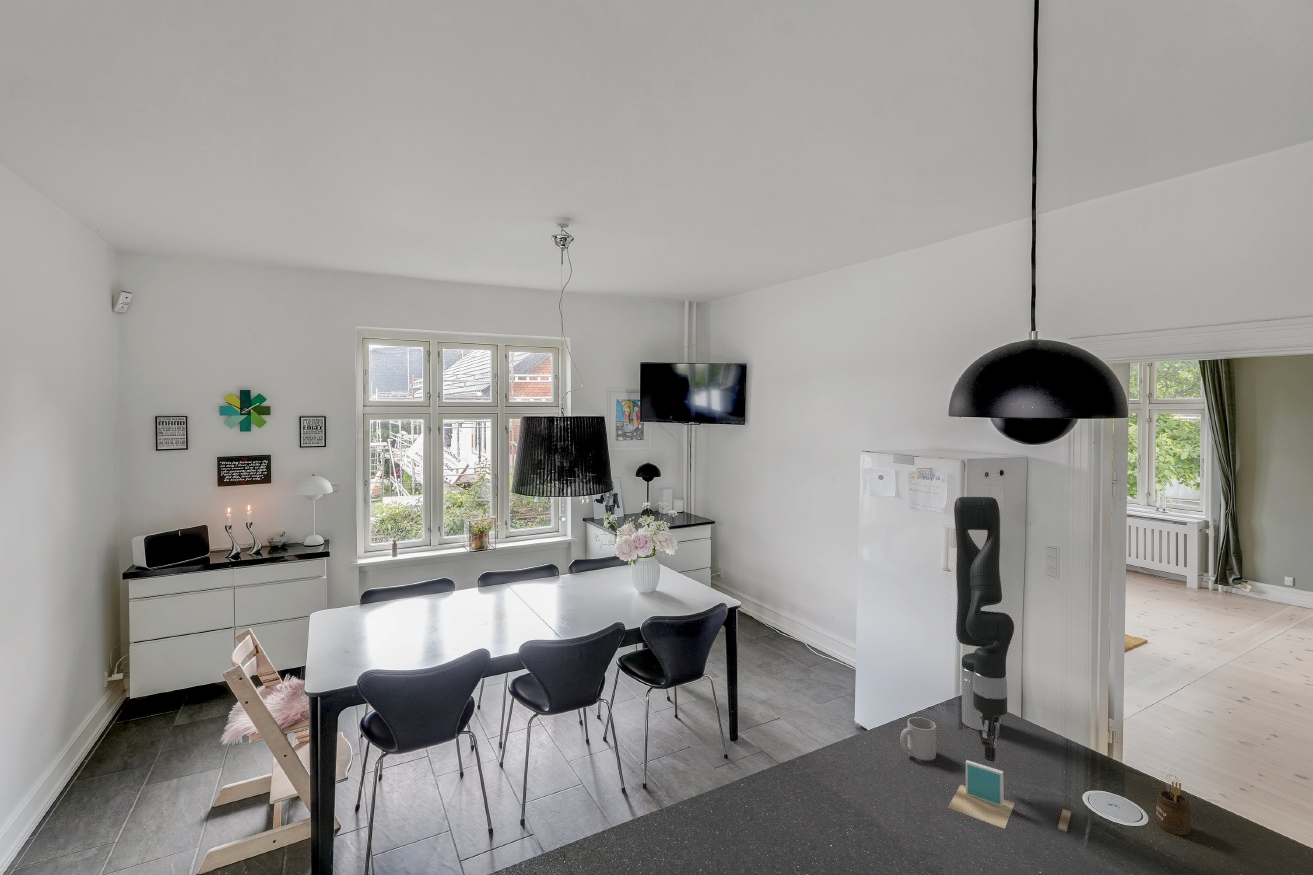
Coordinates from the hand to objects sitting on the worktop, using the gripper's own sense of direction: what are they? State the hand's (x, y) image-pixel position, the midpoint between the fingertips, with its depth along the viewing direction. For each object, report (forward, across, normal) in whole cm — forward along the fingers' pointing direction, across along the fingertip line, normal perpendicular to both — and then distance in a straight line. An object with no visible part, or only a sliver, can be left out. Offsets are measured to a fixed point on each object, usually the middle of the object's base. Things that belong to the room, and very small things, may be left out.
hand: (990, 759), depth 151 cm
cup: (+7, -4, -19) cm, 21 cm away
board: (+7, +10, 0) cm, 12 cm away
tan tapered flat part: (+8, +7, +16) cm, 19 cm away
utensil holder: (+8, -9, +35) cm, 37 cm away
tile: (+7, +7, 0) cm, 10 cm away
